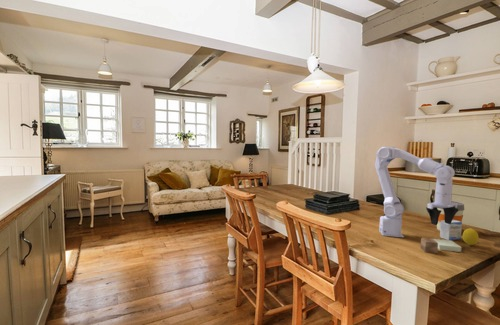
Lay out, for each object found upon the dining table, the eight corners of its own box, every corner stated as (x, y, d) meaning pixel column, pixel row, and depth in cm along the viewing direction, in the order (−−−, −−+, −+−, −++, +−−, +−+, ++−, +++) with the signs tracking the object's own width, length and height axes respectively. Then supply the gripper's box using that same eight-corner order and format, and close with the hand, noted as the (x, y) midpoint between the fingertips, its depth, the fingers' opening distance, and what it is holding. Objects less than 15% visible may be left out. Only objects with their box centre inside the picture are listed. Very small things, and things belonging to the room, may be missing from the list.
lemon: (461, 242, 119) (463, 225, 119) (477, 245, 116) (478, 228, 115) (461, 245, 115) (463, 228, 115) (478, 249, 112) (479, 231, 111)
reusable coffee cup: (434, 231, 134) (436, 203, 133) (431, 225, 145) (432, 199, 144) (465, 236, 128) (467, 206, 127) (459, 229, 139) (461, 201, 138)
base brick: (439, 250, 110) (439, 245, 110) (430, 243, 118) (431, 238, 118) (460, 252, 108) (461, 247, 108) (450, 245, 116) (451, 240, 116)
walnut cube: (424, 252, 107) (425, 241, 107) (420, 248, 111) (421, 238, 111) (437, 253, 106) (437, 243, 106) (432, 249, 110) (433, 239, 110)
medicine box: (448, 240, 121) (450, 222, 120) (439, 237, 125) (440, 220, 125) (461, 239, 123) (462, 221, 122) (451, 236, 127) (452, 219, 127)
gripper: (439, 195, 106) (436, 227, 107) (465, 194, 110) (463, 225, 111) (423, 192, 113) (421, 222, 114) (449, 191, 116) (446, 221, 117)
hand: (441, 224), depth 113 cm, fingers open, 7 cm apart
